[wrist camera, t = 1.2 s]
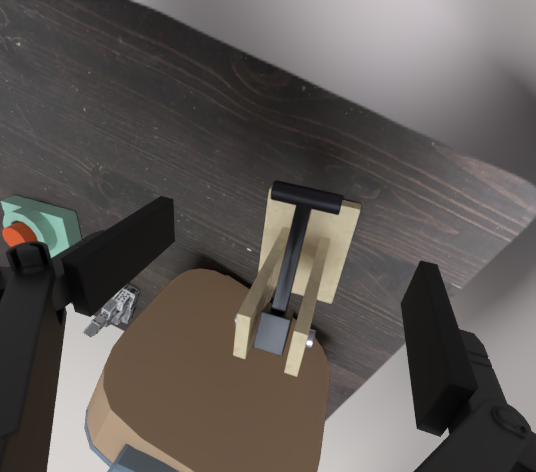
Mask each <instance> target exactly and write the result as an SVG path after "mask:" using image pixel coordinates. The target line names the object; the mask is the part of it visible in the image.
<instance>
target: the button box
mask: <svg viewBox="0 0 536 472" xmlns="http://www.w3.org/2000/svg"><path fill="white" fill-rule="evenodd" d="M1 204H2V207H3V210H4V212H5V215H4V219H3V226H4V228H6V227H8V226H10V225H12V224H15V223H17V222H23V223H25V224H26V225H27V226H29V227H30V228H31V229H32V231H33V232H34V233H35V235H36V237H37V240H38V241H39V242H44V243H45V244H47V245H48V249H49V252H50V256H51V258H52V257H54V256H55V255H57V254H59V253H60V252H62V251H64V250H65V249H67V248H69V247H70V246H72V245H75V243H77V242H79V241H80V240H81V241H82V238H81V234H80V229H79V225H78V220H77V216H76V212H75V211H72V210H68V209H64V208H61V207H57V206H53V205H50V204H46V203H42V202H39V201H35V200H31V199H28V198H24V197H20V196H17V195H15V196H13V197H10V198H7V199H5V200H2V201H1Z"/></svg>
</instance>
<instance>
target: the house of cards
mask: <svg viewBox="0 0 536 472" xmlns="http://www.w3.org/2000/svg"><path fill="white" fill-rule="evenodd" d="M139 292H140V290H138V289H137V288H135V287H133V286H132V285H131V284H130V285H129V284H127V285H126V286H124V287H123V288H122V289H121V290H120V291H119V292H118V293H117V294H116V295H114V296H113V297H112V298H111V299H110V300H109V301H108V302H107V303H106V304H105V306H104V307H103V308H102V312H101V313H100V314H99V315H98V316H96V317H95V318H94V319H93V320H92V321H91V323H90V324H89V325H88V326H87V328H86V329H85V330H84V331H83V333H84V334H86V335H88V336H89V337H92V336H94V335H95V334H97V333H98V332H99V330H100V329H101V328H102V327H104V326H105V327H107V326H109V325H110V324H112V323H114V324H116V325H117V324H119V323H120V322H125V323H126V324H127V323H128V322H129V321H130V320H131V319H132V317H131V316H132V313H133V309H134V307H135V306H136V305H135V302H136V299H137V296H138V293H139Z"/></svg>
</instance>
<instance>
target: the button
mask: <svg viewBox="0 0 536 472" xmlns="http://www.w3.org/2000/svg"><path fill="white" fill-rule="evenodd" d="M2 233H3V237H4V239H5V241H6V242H7V243H8V245H9V246H10V247H13V246H15V245H17V244H20V243H24V242H29V241H38V240H37V237H36V235H35V233H34V232H33V231H32V229H31V228H30V227H29V226H27V225H26V224H25V223H23V222H17V223H15V224H12V225H10V226H8V227H6V228H4V229H3V232H2Z"/></svg>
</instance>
